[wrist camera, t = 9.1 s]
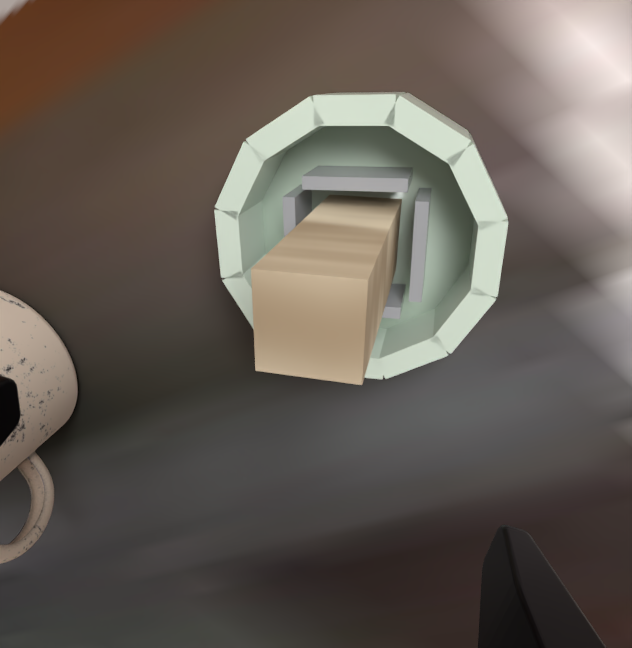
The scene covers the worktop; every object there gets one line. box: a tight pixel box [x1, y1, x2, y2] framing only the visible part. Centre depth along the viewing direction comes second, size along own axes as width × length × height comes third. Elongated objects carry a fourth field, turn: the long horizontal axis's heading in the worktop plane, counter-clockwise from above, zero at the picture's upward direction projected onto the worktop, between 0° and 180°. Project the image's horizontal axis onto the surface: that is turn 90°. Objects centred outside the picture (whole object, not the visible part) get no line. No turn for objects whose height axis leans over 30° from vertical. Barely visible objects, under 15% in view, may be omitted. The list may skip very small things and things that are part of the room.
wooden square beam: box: [251, 195, 402, 385], centre depth 15 cm, size 2×2×8 cm
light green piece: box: [214, 92, 508, 380], centre depth 17 cm, size 9×9×3 cm
